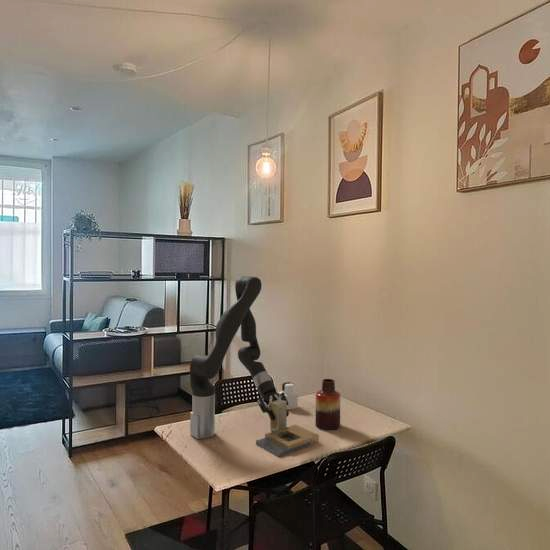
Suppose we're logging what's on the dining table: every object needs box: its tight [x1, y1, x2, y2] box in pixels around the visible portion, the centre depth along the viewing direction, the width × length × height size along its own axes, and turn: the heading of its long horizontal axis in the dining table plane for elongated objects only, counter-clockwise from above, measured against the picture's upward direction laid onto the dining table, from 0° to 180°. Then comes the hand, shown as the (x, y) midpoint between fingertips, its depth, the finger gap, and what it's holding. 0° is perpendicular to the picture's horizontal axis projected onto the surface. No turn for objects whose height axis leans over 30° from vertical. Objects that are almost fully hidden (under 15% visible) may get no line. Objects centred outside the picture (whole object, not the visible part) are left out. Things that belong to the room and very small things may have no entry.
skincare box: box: [269, 399, 288, 432], centre depth 190 cm, size 6×4×12 cm
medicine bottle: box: [278, 381, 299, 411], centre depth 219 cm, size 7×7×12 cm
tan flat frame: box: [255, 424, 320, 458], centre depth 177 cm, size 21×14×3 cm, turn 129°
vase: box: [314, 378, 342, 432], centre depth 195 cm, size 11×11×20 cm
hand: (280, 417), depth 189 cm, fingers closed on skincare box, 6 cm apart
